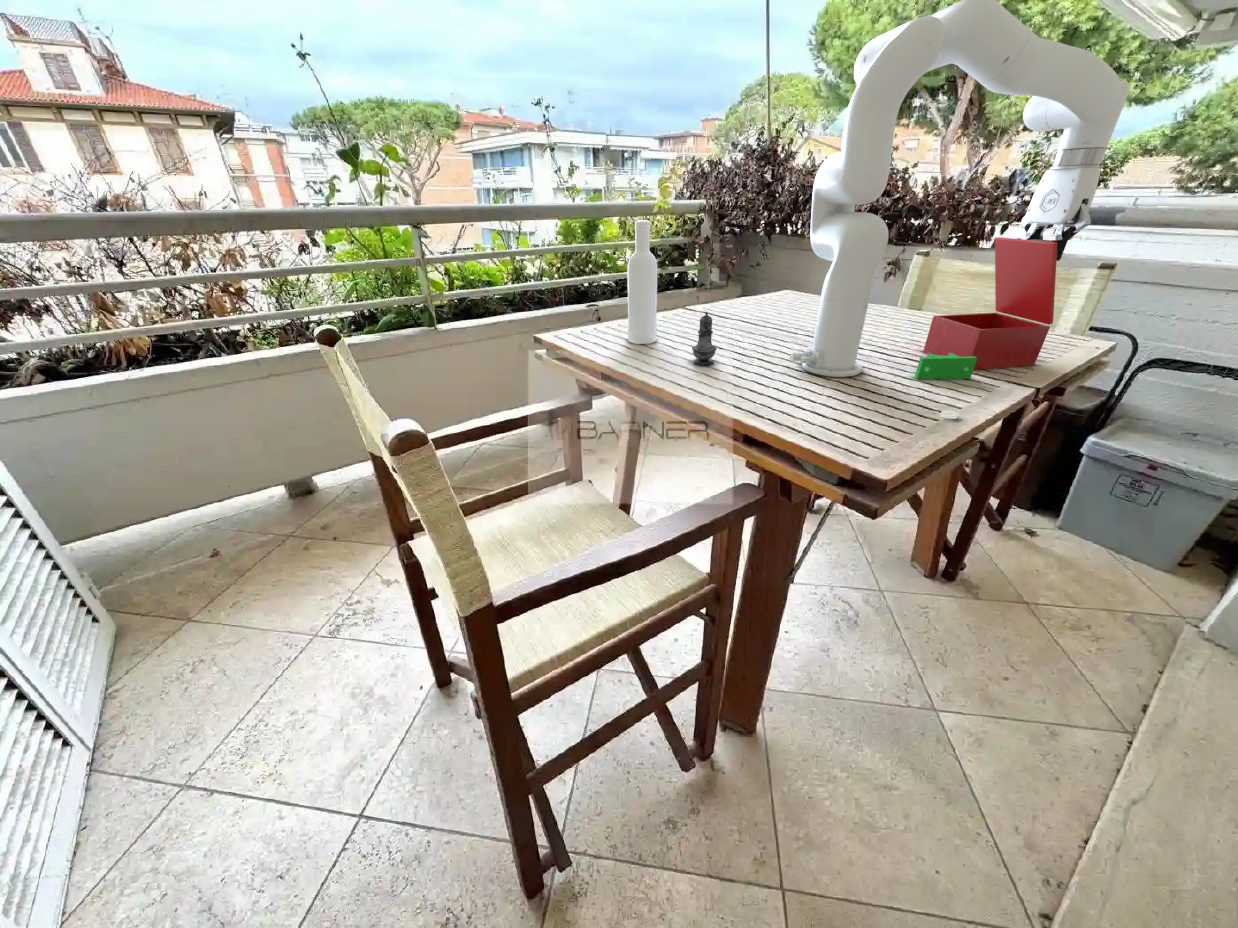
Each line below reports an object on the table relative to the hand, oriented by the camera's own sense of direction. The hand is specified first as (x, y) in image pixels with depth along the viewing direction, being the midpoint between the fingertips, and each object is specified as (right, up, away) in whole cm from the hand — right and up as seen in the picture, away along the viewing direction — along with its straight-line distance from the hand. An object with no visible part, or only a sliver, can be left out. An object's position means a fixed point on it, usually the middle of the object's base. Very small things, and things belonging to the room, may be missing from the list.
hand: (1040, 258), depth 105 cm
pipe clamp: (-22, -26, 0) cm, 34 cm away
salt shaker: (-71, -21, +11) cm, 75 cm away
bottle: (-85, -10, +30) cm, 91 cm away
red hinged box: (-7, -20, +10) cm, 23 cm away
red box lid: (-2, -4, +2) cm, 5 cm away
